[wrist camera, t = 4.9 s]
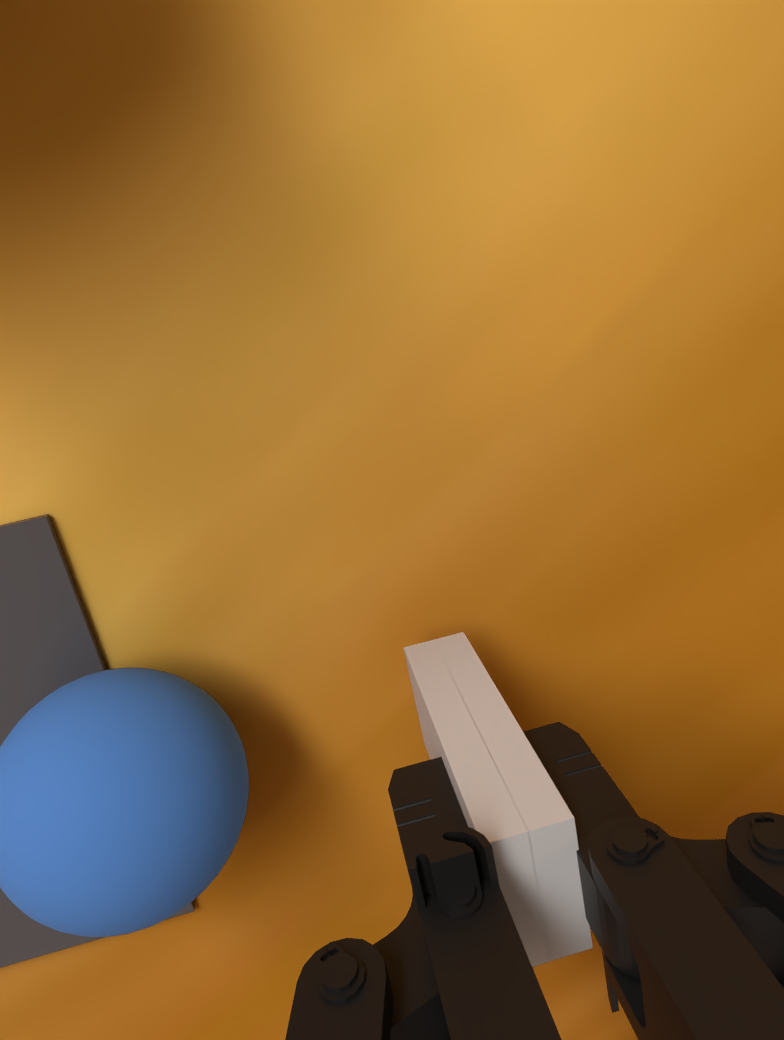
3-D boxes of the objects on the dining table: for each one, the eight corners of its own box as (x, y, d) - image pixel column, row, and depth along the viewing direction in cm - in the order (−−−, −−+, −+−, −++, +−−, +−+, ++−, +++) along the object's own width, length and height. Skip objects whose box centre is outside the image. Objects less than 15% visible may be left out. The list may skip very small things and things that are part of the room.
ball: (-122, 809, 15) (82, 665, 19) (39, 1011, 15) (199, 824, 20) (-7, 742, 12) (201, 591, 16) (187, 994, 12) (335, 779, 17)
